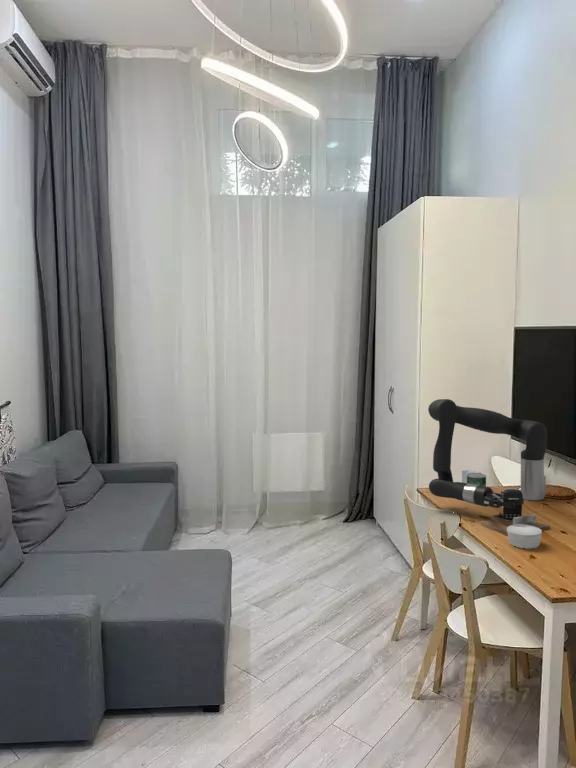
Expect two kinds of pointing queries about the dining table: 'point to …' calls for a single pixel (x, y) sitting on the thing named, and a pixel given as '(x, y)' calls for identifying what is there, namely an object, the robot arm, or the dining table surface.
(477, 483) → the canned tomato
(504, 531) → the rail board
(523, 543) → the ramekin
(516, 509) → the battery charger
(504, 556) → the dining table surface
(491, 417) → the robot arm
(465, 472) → the medicine box
